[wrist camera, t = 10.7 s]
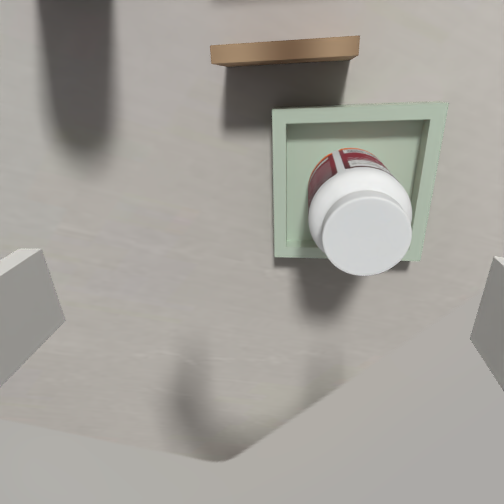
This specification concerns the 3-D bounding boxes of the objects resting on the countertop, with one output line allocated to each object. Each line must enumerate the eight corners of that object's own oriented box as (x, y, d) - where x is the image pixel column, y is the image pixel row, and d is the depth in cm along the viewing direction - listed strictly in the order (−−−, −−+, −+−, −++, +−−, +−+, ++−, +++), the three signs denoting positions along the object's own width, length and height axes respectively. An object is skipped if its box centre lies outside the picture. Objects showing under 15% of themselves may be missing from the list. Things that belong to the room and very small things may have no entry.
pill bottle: (325, 231, 31) (331, 302, 21) (295, 167, 29) (287, 212, 19) (397, 202, 29) (442, 266, 19) (371, 131, 27) (405, 161, 17)
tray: (276, 247, 33) (274, 257, 31) (274, 107, 27) (272, 109, 26) (413, 250, 31) (420, 261, 29) (438, 101, 26) (448, 102, 24)
